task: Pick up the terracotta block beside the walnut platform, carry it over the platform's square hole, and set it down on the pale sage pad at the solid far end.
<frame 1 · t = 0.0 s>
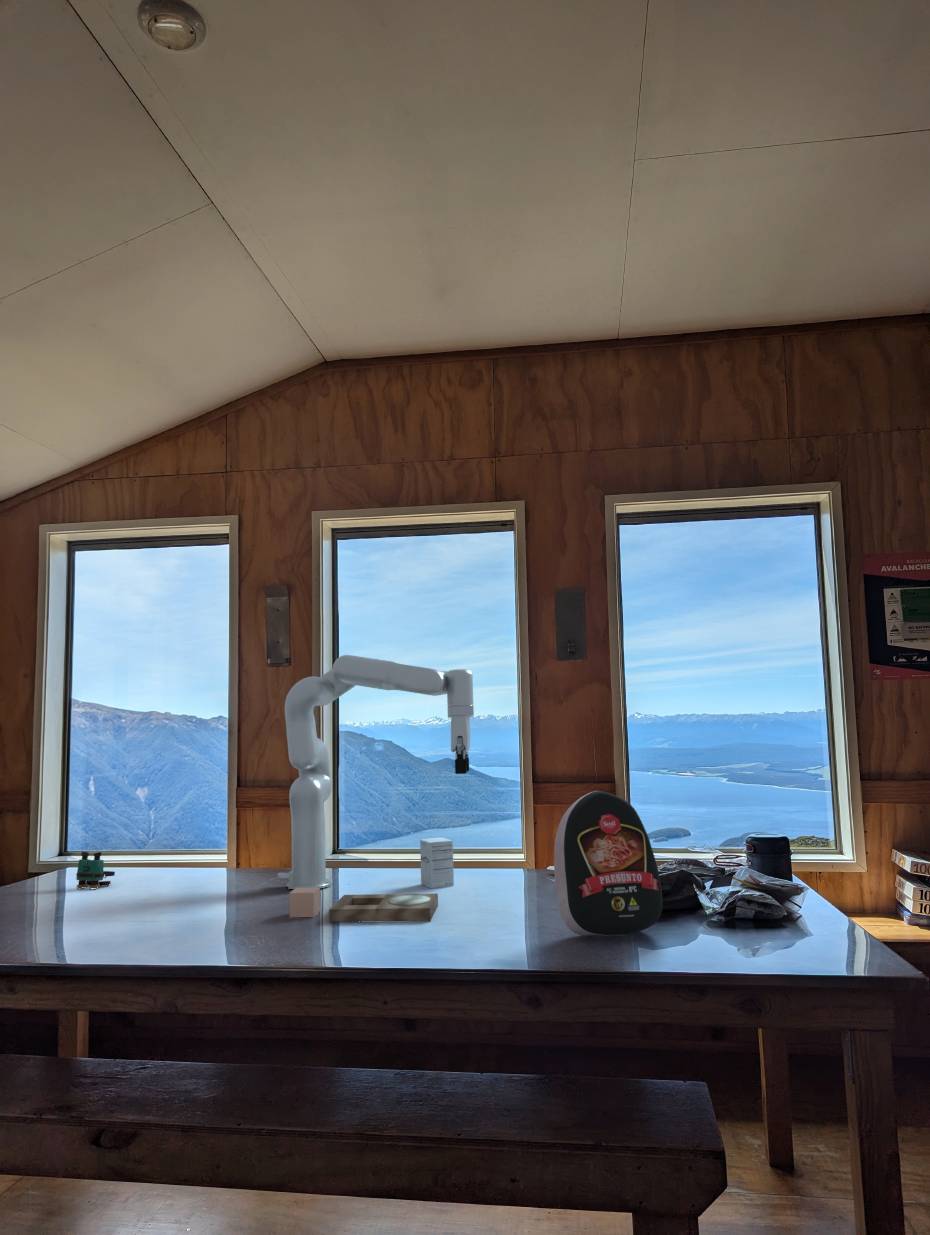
hand: (462, 772, 243), 31 cm above the table, tool pointing down, fingers open, 9 cm apart
block: (305, 915, 209), on the table
packaged food: (608, 935, 182), on the table
supplement box: (437, 885, 240), on the table
green boxy piece: (95, 887, 253), on the table
hole platform: (385, 913, 207), on the table
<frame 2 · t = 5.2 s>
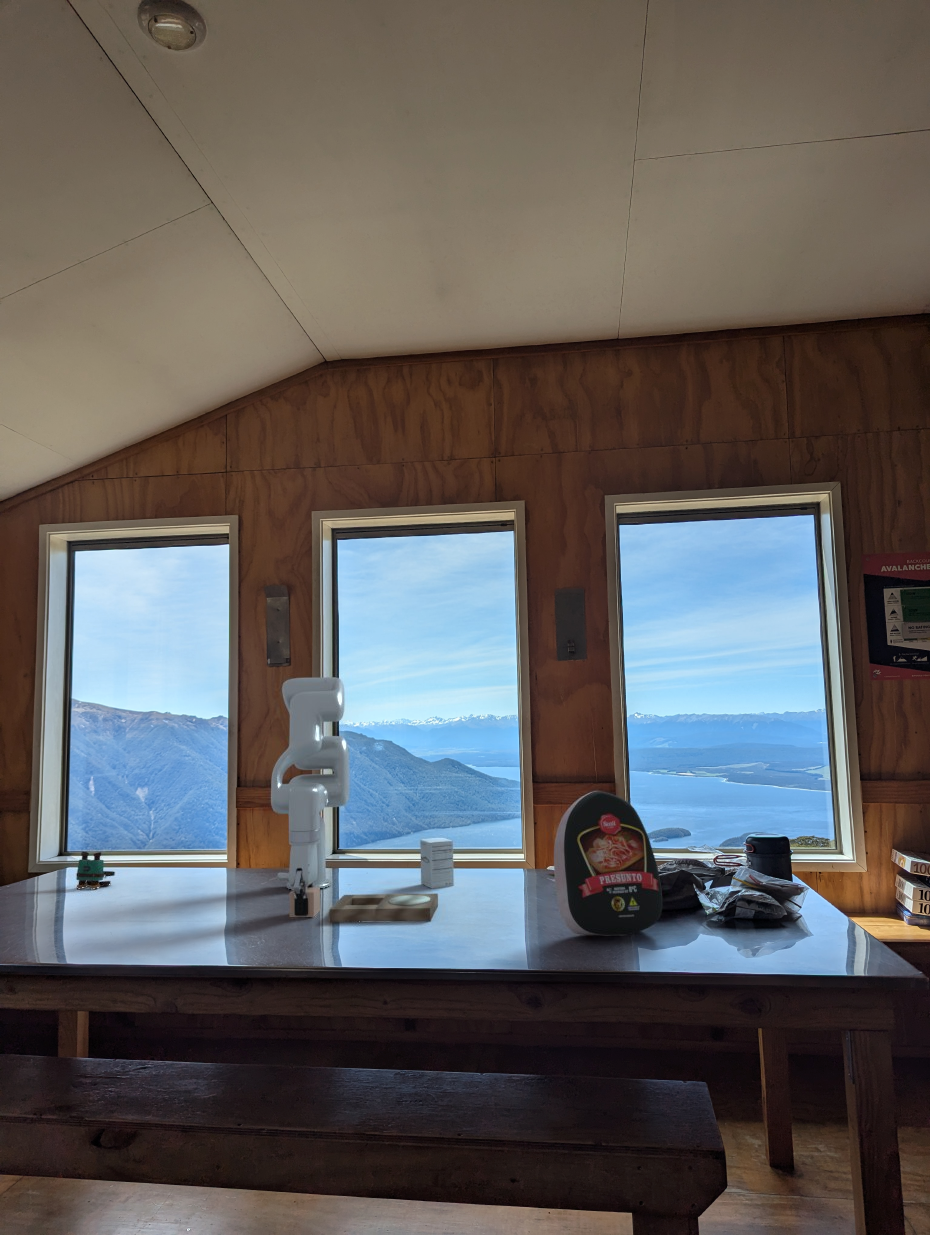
hand: (305, 911, 209), 1 cm above the table, tool pointing down, fingers closed on block, 6 cm apart
block: (305, 915, 209), on the table, touching gripper
everything else where it was.
when the fingers open (6 cm above the table, at t = 12.5 s): block drops 2 cm, resting on hole platform.
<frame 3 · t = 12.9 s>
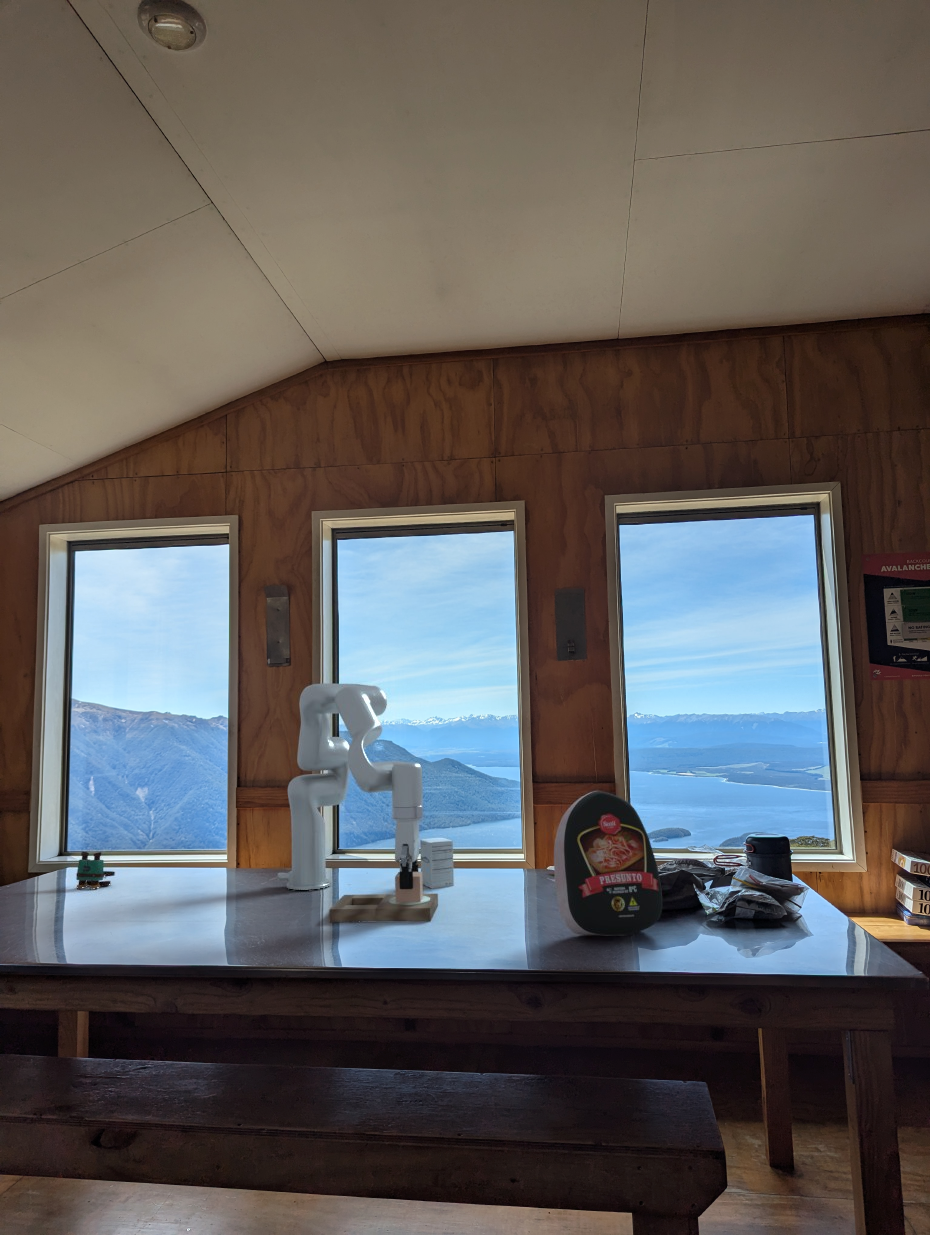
hand: (409, 884, 207), 7 cm above the table, tool pointing down, fingers open, 9 cm apart
block: (409, 899, 207), point 3 cm above the table, touching hole platform
everything else where it was.
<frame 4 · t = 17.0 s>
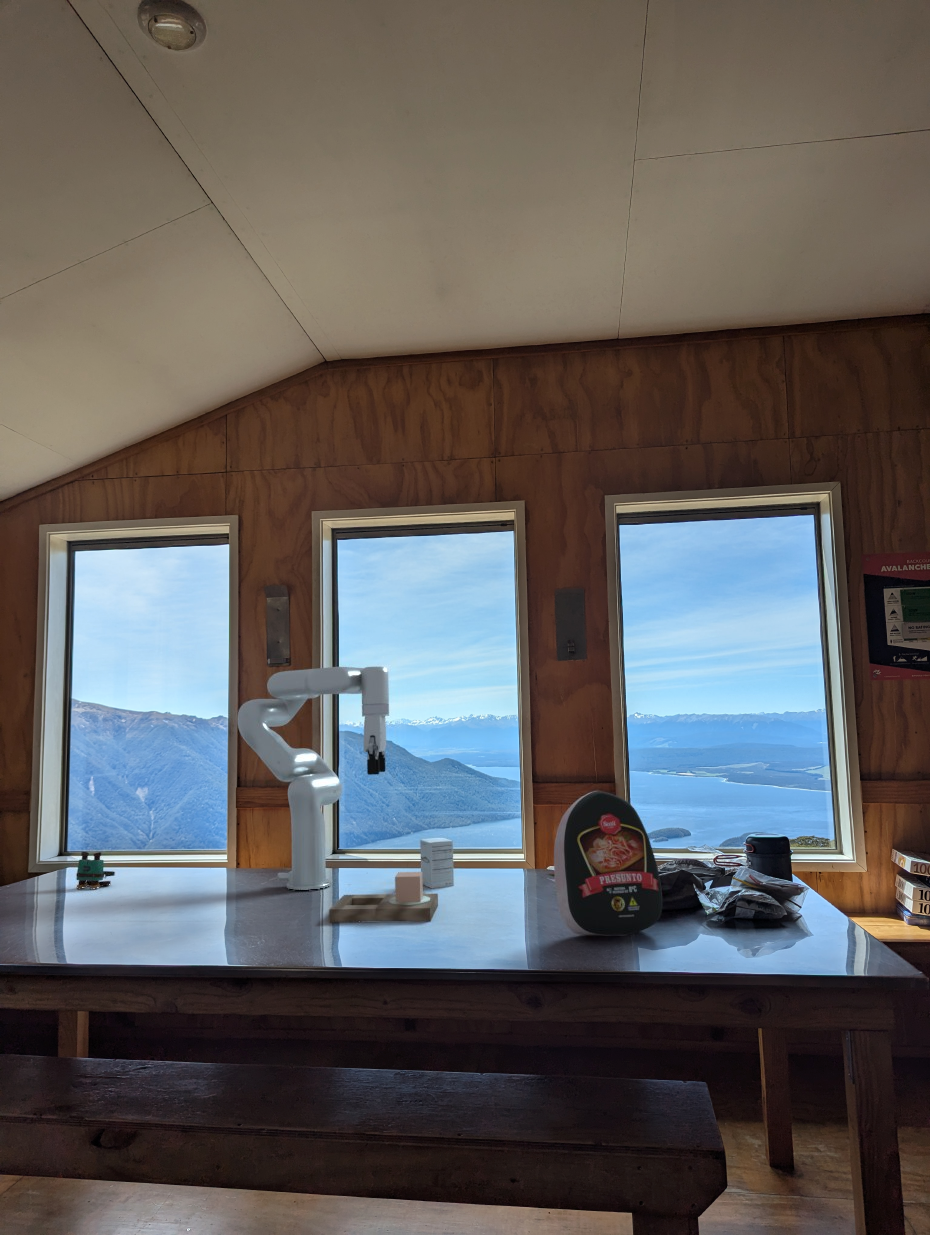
hand: (376, 773, 235), 32 cm above the table, tool pointing down, fingers open, 9 cm apart
nothing on the table moved.
at the end: block inside the target area on the hole platform (0.1 cm from its centre), point 3.3 cm above the hole platform's base; block tilted 0°; the gripper is holding nothing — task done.
